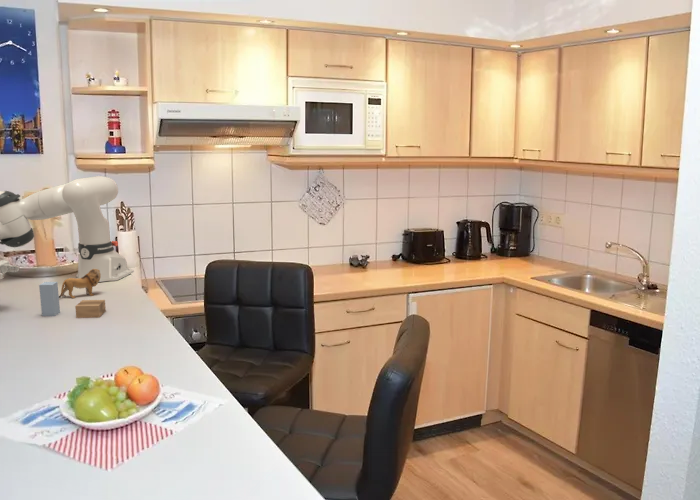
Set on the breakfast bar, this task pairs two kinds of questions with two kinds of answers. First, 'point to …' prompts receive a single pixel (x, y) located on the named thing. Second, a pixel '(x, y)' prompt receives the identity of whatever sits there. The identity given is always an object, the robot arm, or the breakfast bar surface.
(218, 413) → the breakfast bar surface
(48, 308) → the tall block
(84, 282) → the lion figurine
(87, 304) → the base brick
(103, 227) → the robot arm
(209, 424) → the breakfast bar surface
